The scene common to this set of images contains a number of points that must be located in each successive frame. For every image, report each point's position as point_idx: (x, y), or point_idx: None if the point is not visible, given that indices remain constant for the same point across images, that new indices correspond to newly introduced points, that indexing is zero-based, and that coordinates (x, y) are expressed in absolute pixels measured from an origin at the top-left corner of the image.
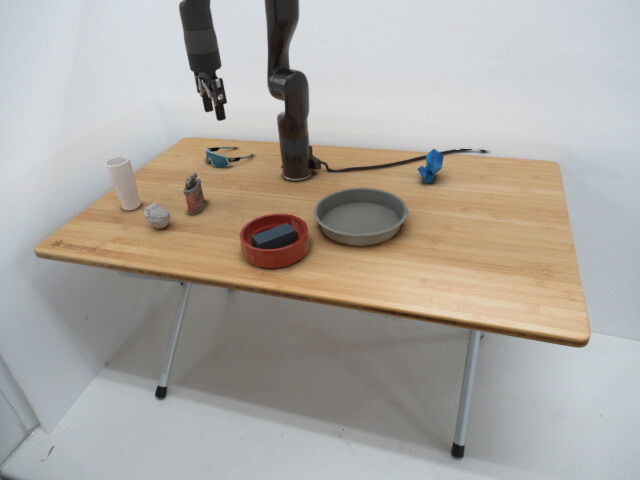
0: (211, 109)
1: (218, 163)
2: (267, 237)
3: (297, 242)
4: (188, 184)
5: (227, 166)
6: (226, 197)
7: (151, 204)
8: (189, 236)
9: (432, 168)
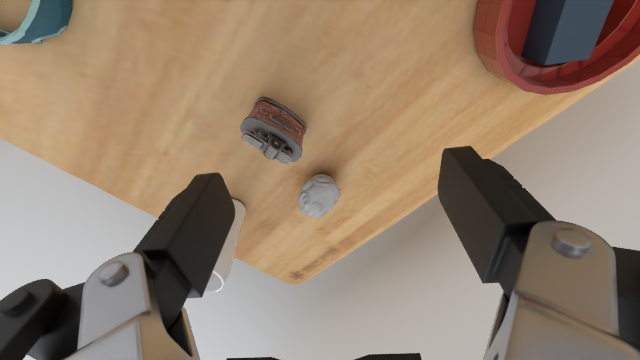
0: (219, 186)
1: (60, 17)
2: (587, 30)
3: None
4: (291, 156)
5: None
6: (259, 46)
7: (310, 211)
8: (376, 149)
9: None
